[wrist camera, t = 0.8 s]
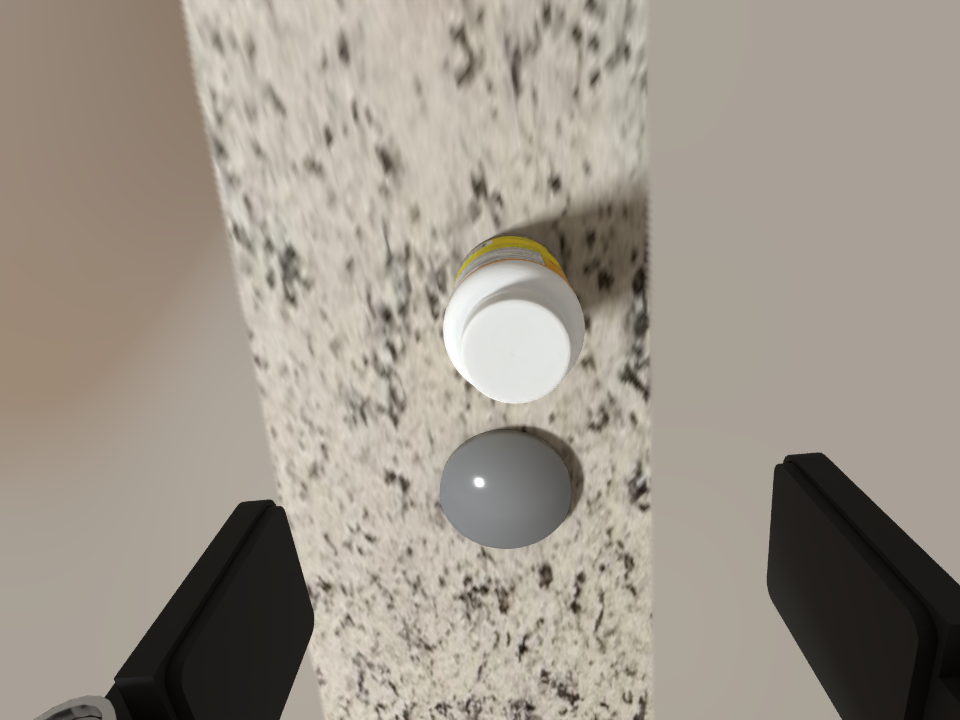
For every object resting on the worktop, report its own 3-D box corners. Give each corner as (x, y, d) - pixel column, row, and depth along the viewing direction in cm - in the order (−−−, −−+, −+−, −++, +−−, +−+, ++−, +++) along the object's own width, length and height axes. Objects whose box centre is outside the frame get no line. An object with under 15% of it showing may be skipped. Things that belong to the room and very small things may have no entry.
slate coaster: (432, 435, 33) (430, 442, 32) (565, 423, 32) (567, 430, 32) (450, 544, 36) (449, 553, 35) (574, 535, 35) (575, 543, 34)
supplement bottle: (557, 340, 31) (584, 431, 21) (453, 333, 31) (433, 419, 21) (570, 235, 29) (606, 282, 19) (459, 227, 29) (439, 270, 19)
